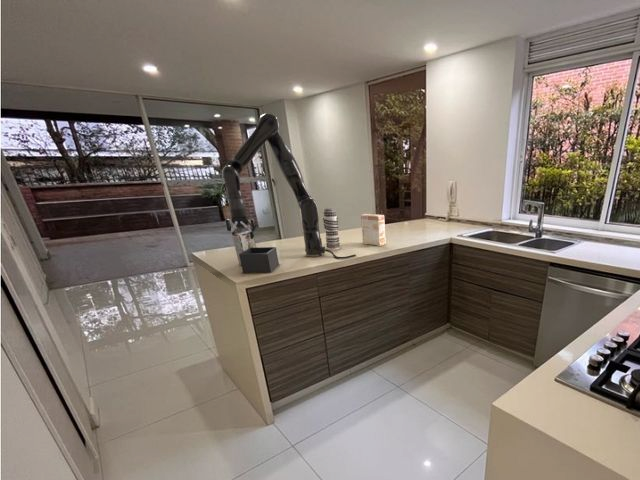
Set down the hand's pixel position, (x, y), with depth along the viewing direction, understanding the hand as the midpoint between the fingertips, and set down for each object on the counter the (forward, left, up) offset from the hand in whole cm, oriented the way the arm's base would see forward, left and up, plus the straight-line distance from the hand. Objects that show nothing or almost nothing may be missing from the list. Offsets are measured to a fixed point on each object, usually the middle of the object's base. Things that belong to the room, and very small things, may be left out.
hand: (243, 238), depth 182 cm
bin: (-11, +13, -13) cm, 22 cm away
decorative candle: (-42, -31, -13) cm, 54 cm away
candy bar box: (0, 0, -13) cm, 13 cm away
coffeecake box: (-68, -42, -13) cm, 81 cm away
